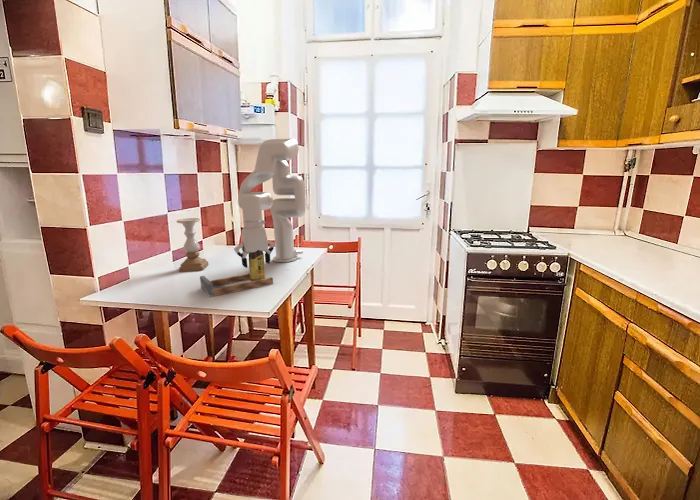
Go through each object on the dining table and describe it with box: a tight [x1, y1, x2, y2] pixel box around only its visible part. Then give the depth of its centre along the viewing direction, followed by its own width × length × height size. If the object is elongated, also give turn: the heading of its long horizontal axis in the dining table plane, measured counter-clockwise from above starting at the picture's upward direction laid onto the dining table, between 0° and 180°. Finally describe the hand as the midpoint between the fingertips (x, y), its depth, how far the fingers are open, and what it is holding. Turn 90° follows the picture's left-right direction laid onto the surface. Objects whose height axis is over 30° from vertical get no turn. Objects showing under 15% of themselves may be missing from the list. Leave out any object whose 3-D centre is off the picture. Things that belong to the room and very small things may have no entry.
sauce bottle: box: [247, 250, 266, 281], centre depth 153 cm, size 6×6×20 cm
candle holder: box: [176, 217, 209, 273], centre depth 176 cm, size 11×11×24 cm
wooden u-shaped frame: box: [199, 272, 274, 298], centre depth 150 cm, size 26×13×5 cm, turn 124°
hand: (256, 264), depth 154 cm, fingers open, 9 cm apart
